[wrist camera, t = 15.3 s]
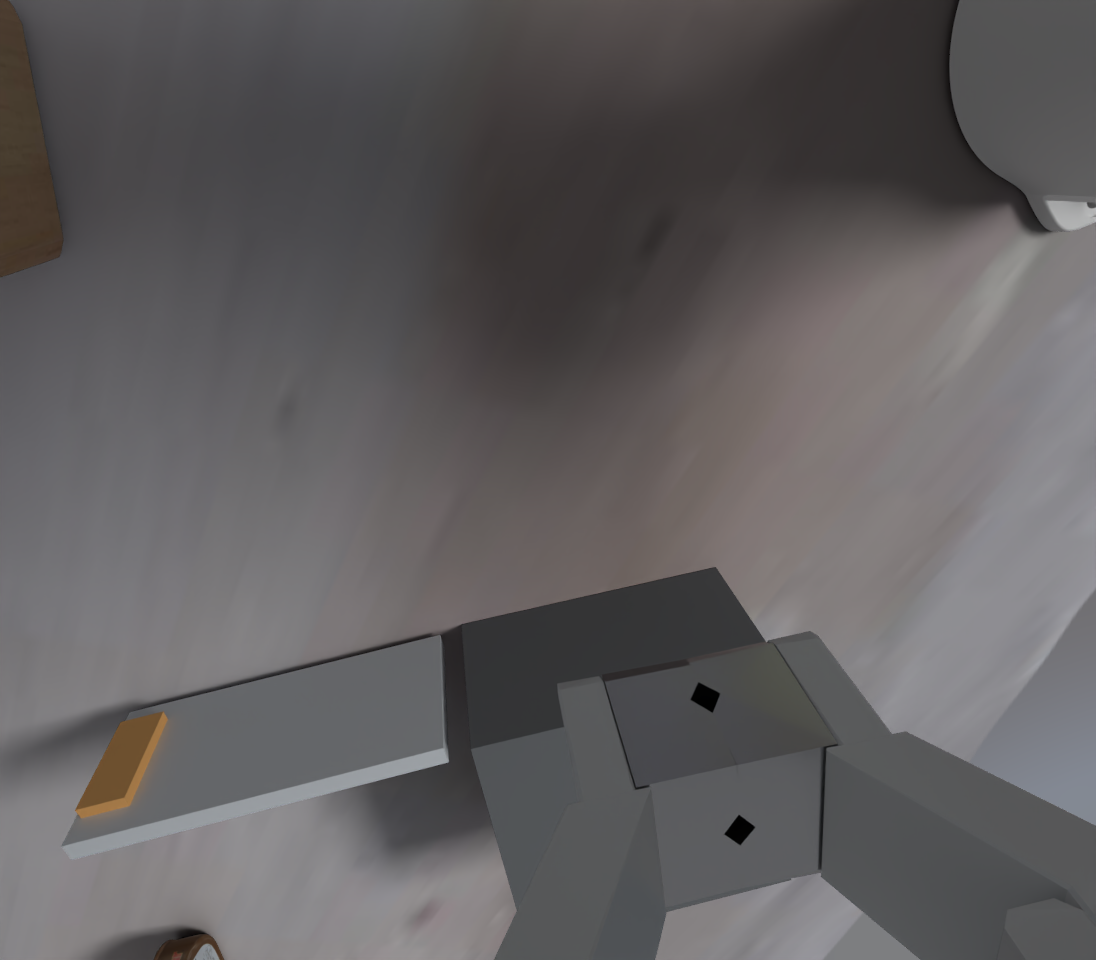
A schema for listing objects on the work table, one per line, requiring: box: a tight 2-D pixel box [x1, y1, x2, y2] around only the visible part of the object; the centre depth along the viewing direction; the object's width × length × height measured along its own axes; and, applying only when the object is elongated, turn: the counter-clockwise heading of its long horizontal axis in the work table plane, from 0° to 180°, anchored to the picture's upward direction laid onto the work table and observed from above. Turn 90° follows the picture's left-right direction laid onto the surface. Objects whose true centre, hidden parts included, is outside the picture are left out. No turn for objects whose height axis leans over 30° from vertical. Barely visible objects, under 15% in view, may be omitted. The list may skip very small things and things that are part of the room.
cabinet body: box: [461, 567, 791, 912], centre depth 44 cm, size 16×17×10 cm
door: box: [61, 635, 449, 860], centre depth 39 cm, size 2×18×9 cm, turn 101°
